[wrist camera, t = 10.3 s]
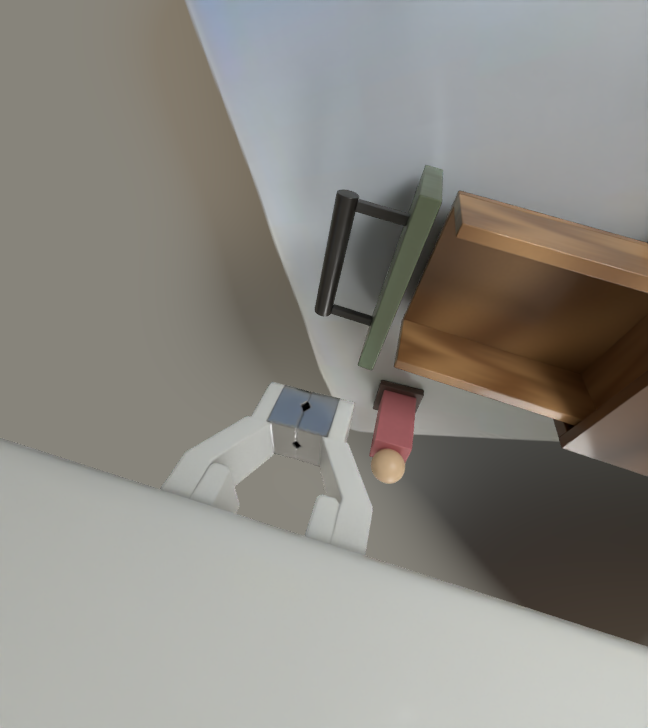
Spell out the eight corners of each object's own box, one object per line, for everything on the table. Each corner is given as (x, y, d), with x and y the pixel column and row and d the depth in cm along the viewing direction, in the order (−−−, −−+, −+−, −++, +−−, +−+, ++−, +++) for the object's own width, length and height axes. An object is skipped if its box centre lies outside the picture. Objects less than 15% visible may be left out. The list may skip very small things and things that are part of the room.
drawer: (323, 302, 30) (300, 347, 25) (356, 145, 21) (330, 169, 16) (572, 380, 29) (598, 444, 24) (719, 245, 20) (810, 304, 15)
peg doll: (381, 379, 36) (364, 461, 29) (424, 390, 35) (418, 477, 28) (373, 404, 39) (356, 484, 32) (413, 414, 39) (405, 498, 31)
